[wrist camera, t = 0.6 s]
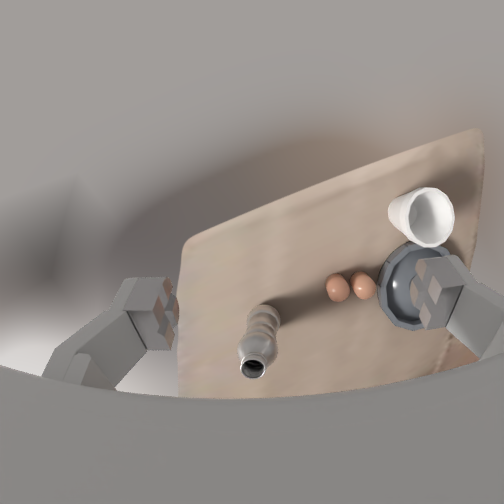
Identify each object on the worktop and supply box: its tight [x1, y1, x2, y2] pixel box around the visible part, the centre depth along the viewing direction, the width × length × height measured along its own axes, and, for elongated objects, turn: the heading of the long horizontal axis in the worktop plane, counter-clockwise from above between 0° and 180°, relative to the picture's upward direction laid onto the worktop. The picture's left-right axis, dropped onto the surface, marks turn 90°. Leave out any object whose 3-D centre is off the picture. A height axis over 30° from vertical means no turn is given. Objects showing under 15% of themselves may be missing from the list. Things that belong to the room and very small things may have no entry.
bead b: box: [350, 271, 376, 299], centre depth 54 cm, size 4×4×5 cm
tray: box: [377, 241, 450, 331], centre depth 53 cm, size 18×18×3 cm
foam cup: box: [388, 187, 455, 247], centre depth 46 cm, size 10×9×13 cm
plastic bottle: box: [237, 305, 281, 379], centre depth 50 cm, size 6×7×20 cm
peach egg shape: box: [325, 274, 350, 302], centre depth 55 cm, size 4×4×5 cm
